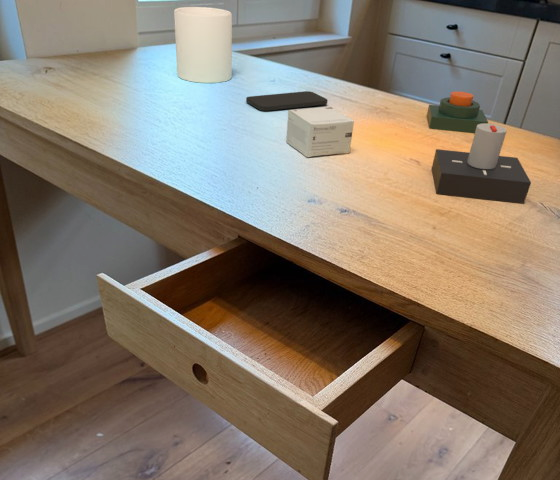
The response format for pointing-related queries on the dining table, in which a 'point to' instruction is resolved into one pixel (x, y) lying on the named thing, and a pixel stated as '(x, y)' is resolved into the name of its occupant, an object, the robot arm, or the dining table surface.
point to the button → (461, 98)
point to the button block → (455, 117)
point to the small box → (319, 131)
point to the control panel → (479, 178)
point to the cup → (203, 44)
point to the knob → (486, 146)
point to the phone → (286, 100)
